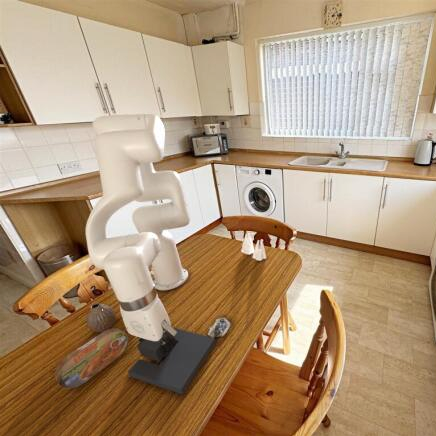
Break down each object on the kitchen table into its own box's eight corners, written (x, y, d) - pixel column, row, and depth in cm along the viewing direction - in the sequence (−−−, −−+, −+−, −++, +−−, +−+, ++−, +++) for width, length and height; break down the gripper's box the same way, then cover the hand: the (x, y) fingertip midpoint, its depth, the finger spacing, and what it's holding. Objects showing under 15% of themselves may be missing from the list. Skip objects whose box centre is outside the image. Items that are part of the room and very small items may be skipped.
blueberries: (205, 341, 68) (204, 336, 68) (209, 319, 76) (208, 314, 75) (229, 337, 69) (228, 333, 68) (231, 316, 76) (230, 311, 76)
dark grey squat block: (141, 356, 62) (136, 345, 61) (158, 336, 68) (154, 326, 66) (159, 361, 61) (155, 351, 59) (176, 341, 66) (172, 331, 64)
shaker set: (240, 254, 109) (237, 233, 104) (246, 250, 112) (244, 229, 107) (261, 262, 103) (258, 240, 98) (267, 257, 106) (265, 236, 101)
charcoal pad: (129, 376, 60) (127, 371, 59) (170, 330, 72) (168, 326, 71) (182, 394, 56) (180, 389, 55) (216, 343, 68) (214, 338, 67)
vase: (89, 339, 70) (77, 318, 66) (95, 322, 76) (84, 301, 72) (116, 330, 73) (106, 309, 69) (120, 314, 78) (111, 294, 75)
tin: (67, 396, 56) (50, 373, 53) (62, 389, 58) (46, 366, 54) (133, 346, 68) (123, 325, 64) (127, 341, 69) (117, 320, 66)
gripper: (96, 301, 55) (121, 352, 63) (155, 316, 51) (175, 369, 58) (124, 280, 62) (144, 329, 70) (179, 292, 57) (194, 343, 65)
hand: (158, 347), depth 64 cm, fingers closed on dark grey squat block, 5 cm apart
